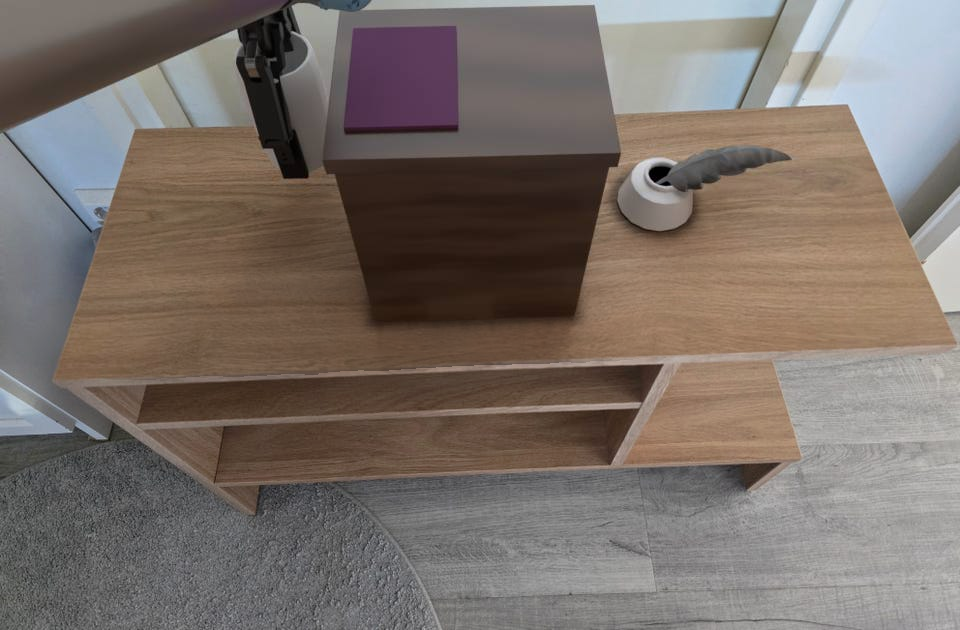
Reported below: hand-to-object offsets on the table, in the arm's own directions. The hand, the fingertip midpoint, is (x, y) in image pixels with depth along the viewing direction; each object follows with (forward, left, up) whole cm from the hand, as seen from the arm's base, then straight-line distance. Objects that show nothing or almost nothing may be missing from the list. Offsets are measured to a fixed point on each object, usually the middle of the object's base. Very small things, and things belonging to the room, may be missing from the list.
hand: (300, 146), depth 78 cm
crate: (-2, -22, -8) cm, 23 cm away
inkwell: (+14, -44, -8) cm, 47 cm away
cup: (0, 0, -2) cm, 2 cm away
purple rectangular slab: (-5, -17, +18) cm, 25 cm away
